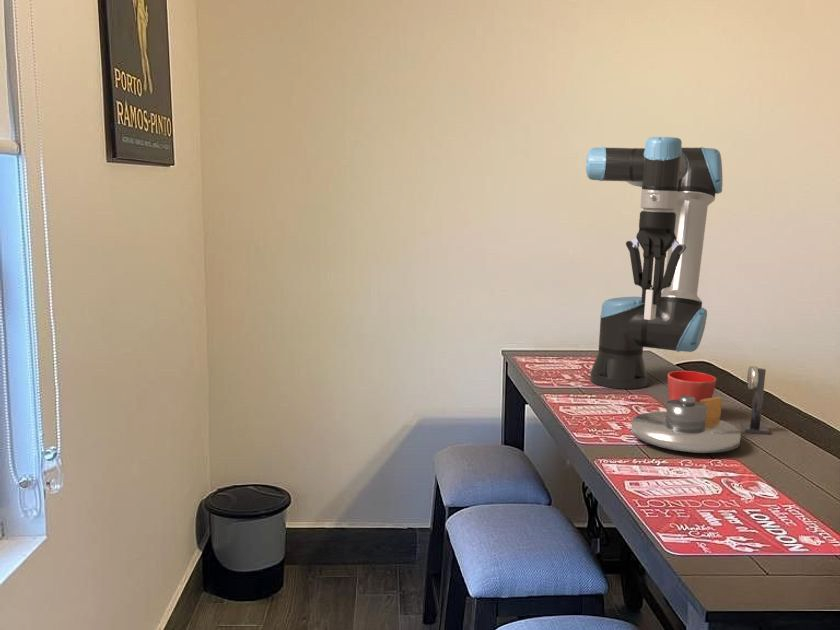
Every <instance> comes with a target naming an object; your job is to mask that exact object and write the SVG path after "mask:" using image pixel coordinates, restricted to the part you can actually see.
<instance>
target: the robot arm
mask: <svg viewBox="0 0 840 630" xmlns="http://www.w3.org/2000/svg"><path fill="white" fill-rule="evenodd" d="M682 143H683V142H682V140H681V139H680V138H679V137H673V136H672V137H671V136H651V137H648V138H647V139H646V141H645V146H644V147H645V148H643V147H636V148H635V147H605V146H602V147H592V148H590V149H589V150H588V153H587V155H586V161H585V172H586V175H587V176H586V177H587V178H588V179H589V180H591V181H599V182H606V181H607V182H626V183H628V184H629V185H631V186H635V187H640V188H641V195H640V209H643V210H640V212H639V219H638V220H639V221H638V232H636V237H635V238H633V239H632V240H628V241H626V242H625V245H626V248H627V249H628V253H629V257H630V258H629V259H630V262H631V264H630V265H631V271H632V277H633V283H634V285H635V286H638V287H640V288H641V296H621V297H620V296H619V297H614V298H612V297H611V298H608V299H606V300H604V301H603V303H602V305H601V312H600V316H599V318H600V320H599V321H600V322H599V323H600V325H599V337H598V338H599V339H598V352H597V355H596V357H595V360H594V362H593V365H592V368H591V370H590V374H589V380H590V382H591V383H593V384H595V385H597V386H602V387H607V388H612V389H620V390H621V389H622V390H623V389H625V390H626V389H627V390H628V389H629V390H630V389H633V390H634V389H635V390H636V389H641V388H645V387H647V385H648V373H647V369H646V365H645V361H644V358H643V356H644V353H643V352H644V348H649V349H656V350H657V349H658V350H667V351H673V352H674V351H676V352H677V353H680V352H685V353H687V352H689V353H692V352H695V351H696V350H697V349H698V348H699V346H700V345H701V342H702V338H703V335H704V332H705V328H706V323H707V317H708V310H707V309H706V308H704V307H703V301H702V299H700V297H699V296H698V291H699V290H698V289H699V281H700V273H701V264H702V256H703V249H704V248H703V247H704V239H705V232H706V224H707V214H708V208H709V206H710V205H711V204H712V203H714V202H715V199H716V194H717V195H718V194H721V193H722V192H723V162H722V156H721V152H720V150H718V149H716V148H710V147H703V146H701V147H682ZM640 247H641V249H642V251H643V253H642V257H643V263H642V260H641V253H640ZM665 261H666V264H665ZM642 264H643V265H642ZM653 268H654V269H653Z"/></svg>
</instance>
